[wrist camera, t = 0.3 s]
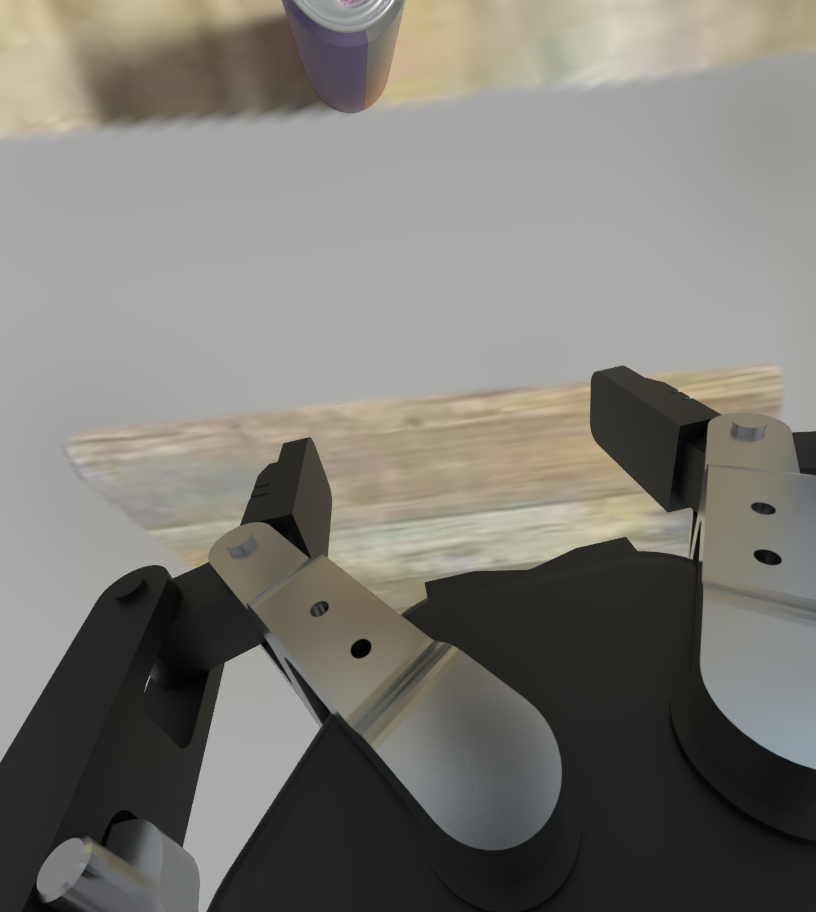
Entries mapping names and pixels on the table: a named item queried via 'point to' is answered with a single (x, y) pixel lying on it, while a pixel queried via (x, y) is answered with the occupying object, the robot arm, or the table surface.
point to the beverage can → (346, 47)
